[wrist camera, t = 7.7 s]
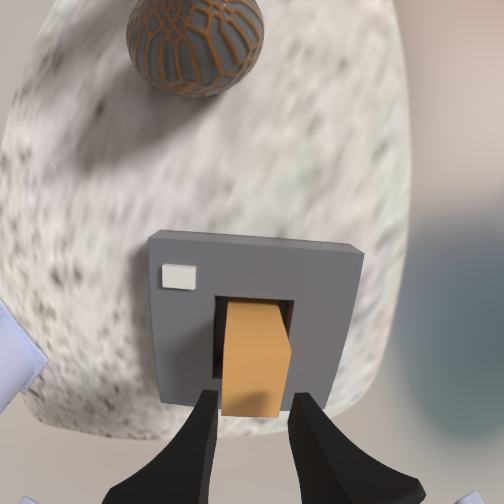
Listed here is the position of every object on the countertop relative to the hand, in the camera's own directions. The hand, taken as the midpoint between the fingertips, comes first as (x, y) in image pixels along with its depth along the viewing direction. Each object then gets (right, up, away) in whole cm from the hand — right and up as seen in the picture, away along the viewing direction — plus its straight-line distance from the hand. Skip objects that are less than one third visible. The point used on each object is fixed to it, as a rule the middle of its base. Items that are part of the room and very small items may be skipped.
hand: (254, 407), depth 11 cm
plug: (0, +2, +7) cm, 8 cm away
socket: (0, +2, +8) cm, 8 cm away
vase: (-3, +19, +4) cm, 19 cm away
